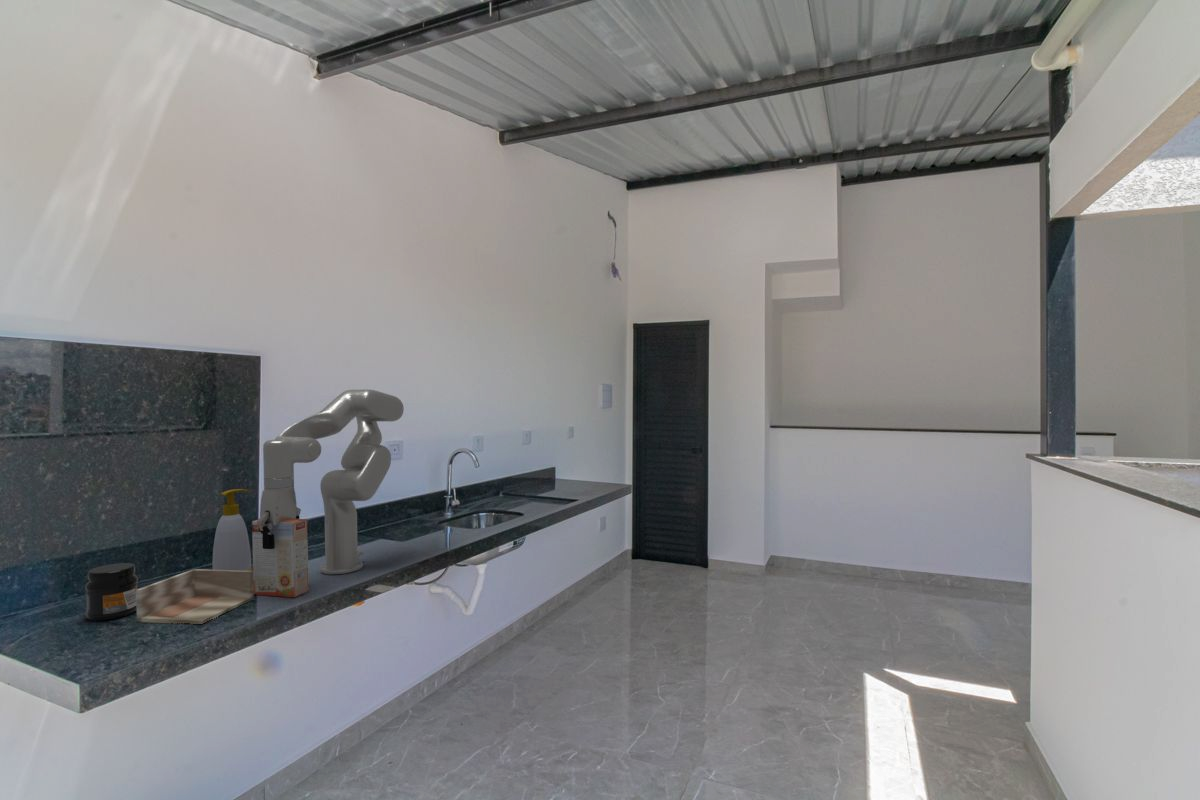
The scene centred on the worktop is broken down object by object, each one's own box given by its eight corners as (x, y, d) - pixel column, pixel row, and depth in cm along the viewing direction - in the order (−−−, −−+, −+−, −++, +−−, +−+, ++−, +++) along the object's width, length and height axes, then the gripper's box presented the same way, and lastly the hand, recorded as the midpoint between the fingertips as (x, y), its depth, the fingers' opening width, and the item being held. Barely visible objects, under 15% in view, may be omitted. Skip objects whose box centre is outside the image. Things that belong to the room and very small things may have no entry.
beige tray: (194, 597, 171) (193, 568, 171) (253, 600, 168) (252, 570, 168) (136, 621, 153) (136, 589, 153) (202, 624, 150) (201, 592, 150)
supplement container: (141, 614, 158) (140, 567, 158) (88, 625, 151) (87, 576, 151) (135, 604, 166) (134, 560, 166) (84, 614, 159) (83, 568, 158)
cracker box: (309, 591, 175) (308, 518, 174) (294, 598, 169) (292, 522, 169) (269, 588, 178) (267, 516, 178) (252, 595, 173) (250, 520, 172)
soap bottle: (259, 572, 194) (257, 489, 194) (217, 581, 185) (216, 494, 185) (246, 566, 201) (244, 486, 201) (206, 574, 193) (204, 490, 192)
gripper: (286, 479, 182) (287, 536, 183) (245, 488, 165) (246, 552, 165) (310, 479, 181) (311, 537, 181) (270, 488, 164) (272, 552, 164)
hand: (280, 544), depth 173 cm, fingers open, 9 cm apart
